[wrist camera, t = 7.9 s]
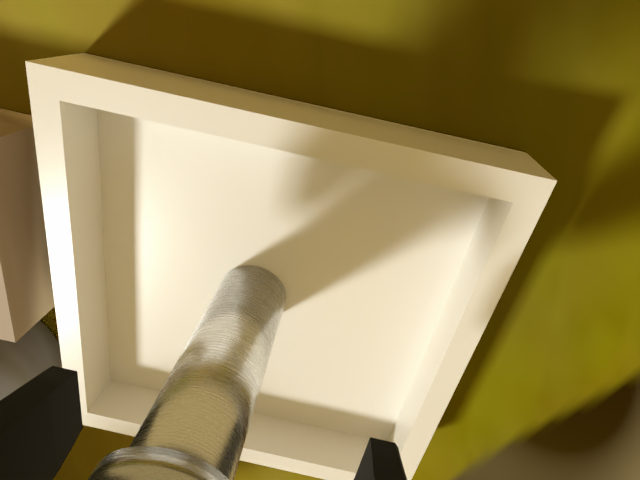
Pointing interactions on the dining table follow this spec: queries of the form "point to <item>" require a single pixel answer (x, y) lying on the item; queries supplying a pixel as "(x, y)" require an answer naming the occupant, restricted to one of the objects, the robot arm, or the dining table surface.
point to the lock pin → (208, 388)
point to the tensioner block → (23, 260)
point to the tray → (272, 251)
